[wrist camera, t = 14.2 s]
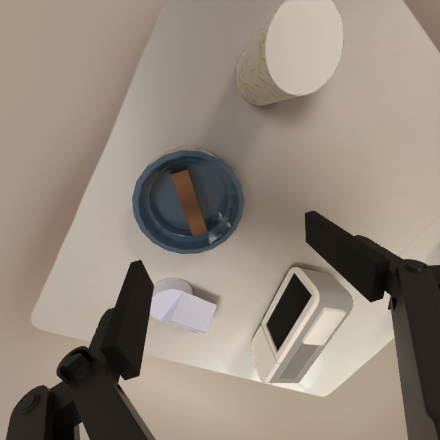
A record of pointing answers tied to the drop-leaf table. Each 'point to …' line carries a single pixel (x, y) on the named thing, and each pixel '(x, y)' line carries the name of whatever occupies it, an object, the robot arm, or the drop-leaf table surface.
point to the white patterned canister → (291, 52)
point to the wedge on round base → (181, 306)
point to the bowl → (172, 208)
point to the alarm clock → (299, 325)
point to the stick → (189, 200)
